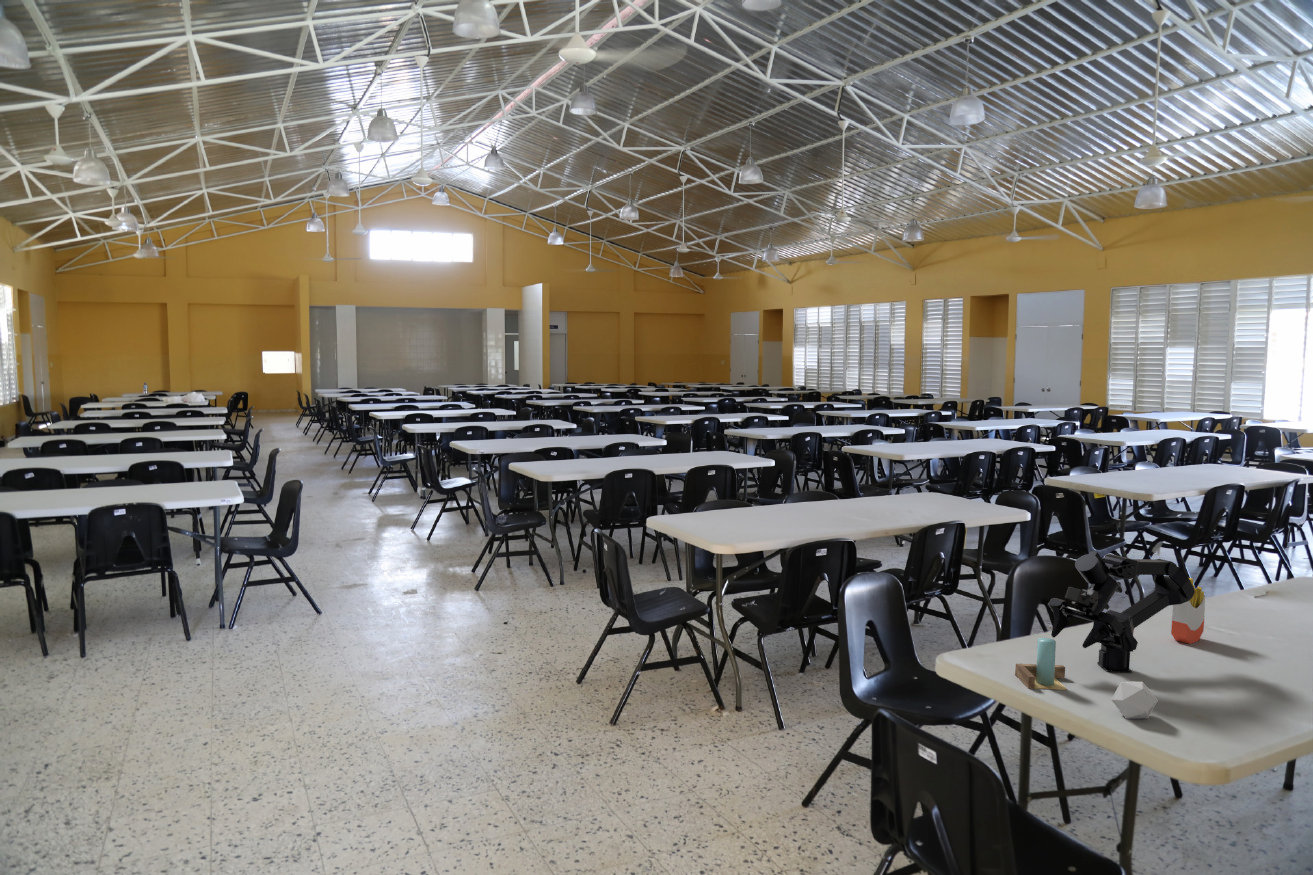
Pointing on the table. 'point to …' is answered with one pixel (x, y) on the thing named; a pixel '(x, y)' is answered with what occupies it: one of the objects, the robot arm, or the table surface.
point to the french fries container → (1189, 618)
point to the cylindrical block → (1045, 661)
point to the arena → (1029, 676)
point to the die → (1134, 700)
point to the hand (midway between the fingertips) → (1067, 641)
